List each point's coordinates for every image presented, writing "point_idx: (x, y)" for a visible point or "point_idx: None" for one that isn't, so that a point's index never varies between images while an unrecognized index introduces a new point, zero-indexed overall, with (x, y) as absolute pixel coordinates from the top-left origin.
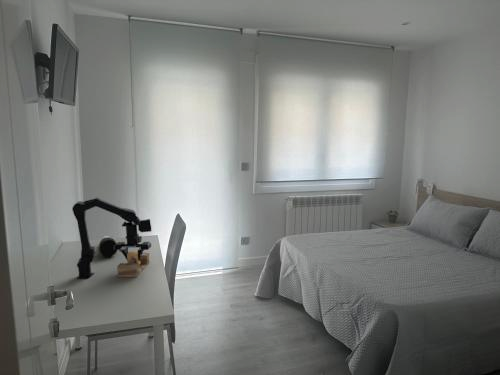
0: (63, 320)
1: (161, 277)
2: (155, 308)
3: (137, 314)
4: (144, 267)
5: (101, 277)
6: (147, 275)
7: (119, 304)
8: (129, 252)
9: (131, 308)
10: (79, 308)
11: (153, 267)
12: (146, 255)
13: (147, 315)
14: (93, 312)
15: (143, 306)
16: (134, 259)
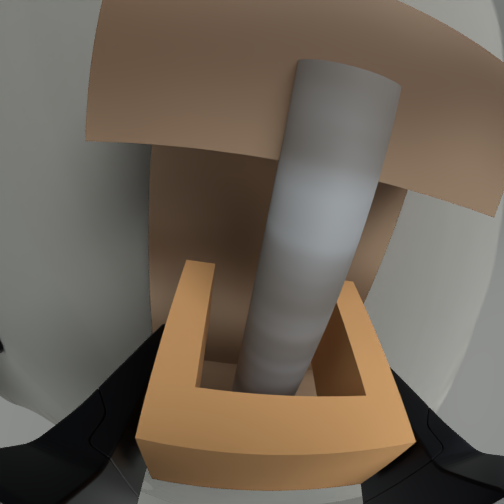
0: (157, 497)
1: (444, 389)
2: (361, 490)
3: (319, 501)
4: (378, 254)
5: (53, 355)
6: None
7: (267, 493)
8: (164, 454)
9: (304, 496)
10: (160, 487)
11: (454, 236)
12: (491, 214)
13: (340, 499)
14: (209, 499)
15: (334, 491)
16: None
